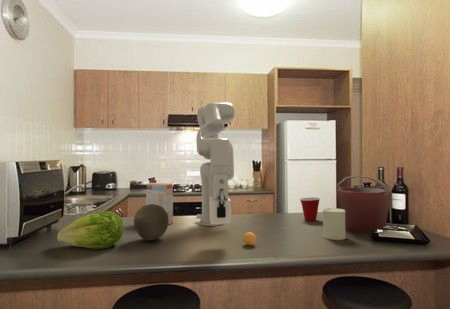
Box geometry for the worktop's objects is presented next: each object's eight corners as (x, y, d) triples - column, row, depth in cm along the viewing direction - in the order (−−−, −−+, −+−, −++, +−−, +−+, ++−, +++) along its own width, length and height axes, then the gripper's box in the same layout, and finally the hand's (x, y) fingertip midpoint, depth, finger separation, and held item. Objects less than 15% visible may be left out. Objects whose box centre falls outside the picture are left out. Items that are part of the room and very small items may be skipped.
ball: (260, 242, 119) (250, 250, 119) (254, 233, 123) (244, 241, 123) (254, 235, 116) (244, 243, 116) (249, 227, 120) (239, 235, 120)
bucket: (326, 225, 150) (326, 175, 150) (361, 222, 158) (361, 173, 158) (366, 238, 127) (365, 178, 127) (404, 233, 135) (403, 176, 135)
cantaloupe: (132, 238, 130) (131, 203, 130) (165, 234, 136) (164, 201, 136) (136, 247, 117) (135, 208, 117) (172, 243, 123) (172, 205, 123)
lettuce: (69, 224, 129) (50, 213, 116) (127, 215, 130) (114, 203, 117) (65, 259, 122) (45, 251, 109) (127, 249, 123) (113, 240, 110)
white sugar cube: (210, 224, 115) (210, 201, 115) (209, 219, 122) (209, 197, 122) (231, 223, 116) (231, 200, 115) (228, 218, 123) (228, 197, 123)
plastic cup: (304, 217, 171) (303, 195, 171) (323, 219, 165) (323, 197, 165) (296, 220, 162) (296, 198, 162) (316, 223, 156) (316, 199, 156)
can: (329, 233, 137) (328, 206, 137) (349, 236, 130) (349, 208, 130) (318, 237, 130) (318, 208, 130) (339, 241, 124) (339, 211, 124)
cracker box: (173, 223, 158) (173, 183, 158) (165, 225, 153) (165, 184, 153) (154, 220, 166) (153, 182, 166) (145, 222, 161) (145, 183, 161)
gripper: (232, 171, 110) (232, 220, 111) (227, 168, 128) (227, 210, 128) (211, 172, 109) (212, 220, 110) (209, 168, 127) (209, 210, 127)
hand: (220, 214), depth 119 cm, fingers closed on white sugar cube, 7 cm apart
